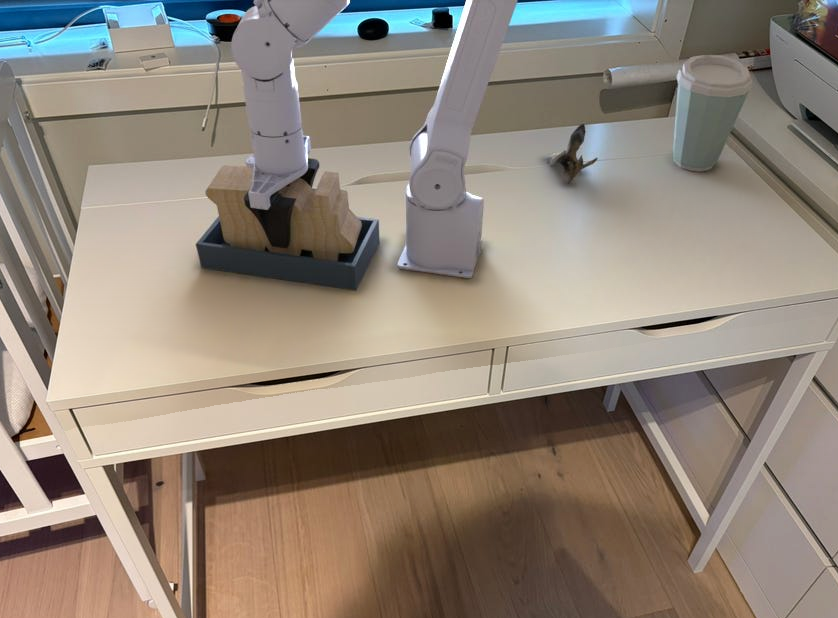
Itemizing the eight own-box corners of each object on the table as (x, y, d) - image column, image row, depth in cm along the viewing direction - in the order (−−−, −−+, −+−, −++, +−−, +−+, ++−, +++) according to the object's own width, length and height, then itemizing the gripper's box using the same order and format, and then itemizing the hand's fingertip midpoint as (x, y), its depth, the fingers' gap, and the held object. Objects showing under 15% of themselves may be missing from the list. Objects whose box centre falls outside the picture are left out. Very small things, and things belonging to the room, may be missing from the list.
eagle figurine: (607, 177, 107) (594, 139, 113) (590, 144, 102) (577, 106, 107) (560, 200, 110) (549, 162, 115) (541, 169, 105) (530, 130, 110)
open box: (379, 242, 95) (378, 219, 92) (356, 290, 87) (354, 266, 85) (236, 222, 97) (231, 199, 95) (201, 268, 89) (195, 243, 87)
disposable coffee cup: (737, 178, 111) (769, 80, 101) (669, 180, 110) (695, 81, 100) (711, 146, 119) (738, 52, 109) (647, 147, 118) (669, 53, 107)
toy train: (355, 269, 89) (350, 197, 82) (219, 258, 90) (203, 186, 83) (363, 244, 93) (359, 173, 87) (233, 234, 94) (219, 163, 87)
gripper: (266, 96, 86) (280, 197, 95) (213, 151, 76) (235, 259, 85) (323, 102, 85) (331, 204, 95) (278, 159, 75) (293, 267, 84)
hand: (289, 231), depth 90 cm, fingers open, 6 cm apart
